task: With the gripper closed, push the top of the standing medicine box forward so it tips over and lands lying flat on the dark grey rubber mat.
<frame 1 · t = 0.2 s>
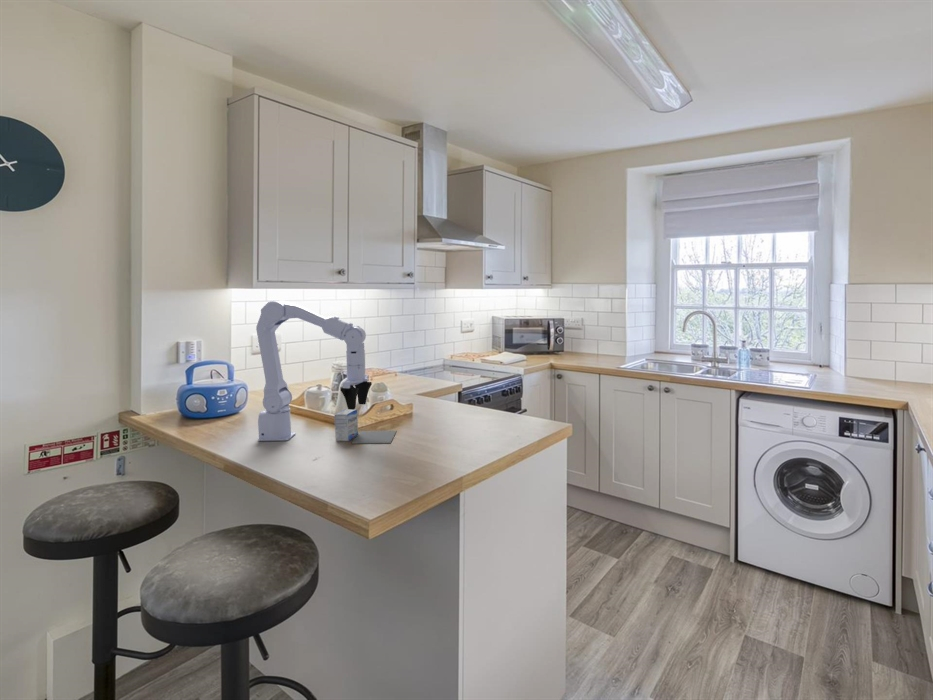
hand: (357, 406, 165), 10 cm above the countertop, fingers open, 7 cm apart
mat: (374, 437, 165), on the countertop
medicine box: (347, 438, 165), on the countertop
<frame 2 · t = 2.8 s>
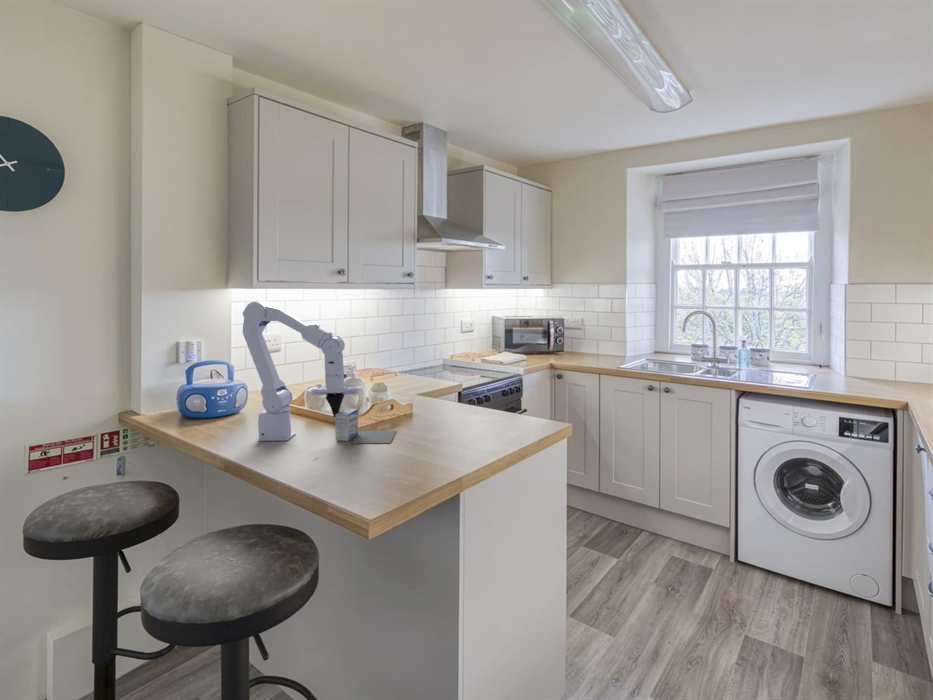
hand: (336, 416, 164), 7 cm above the countertop, fingers closed
medicine box: (347, 438, 165), on the countertop, touching gripper
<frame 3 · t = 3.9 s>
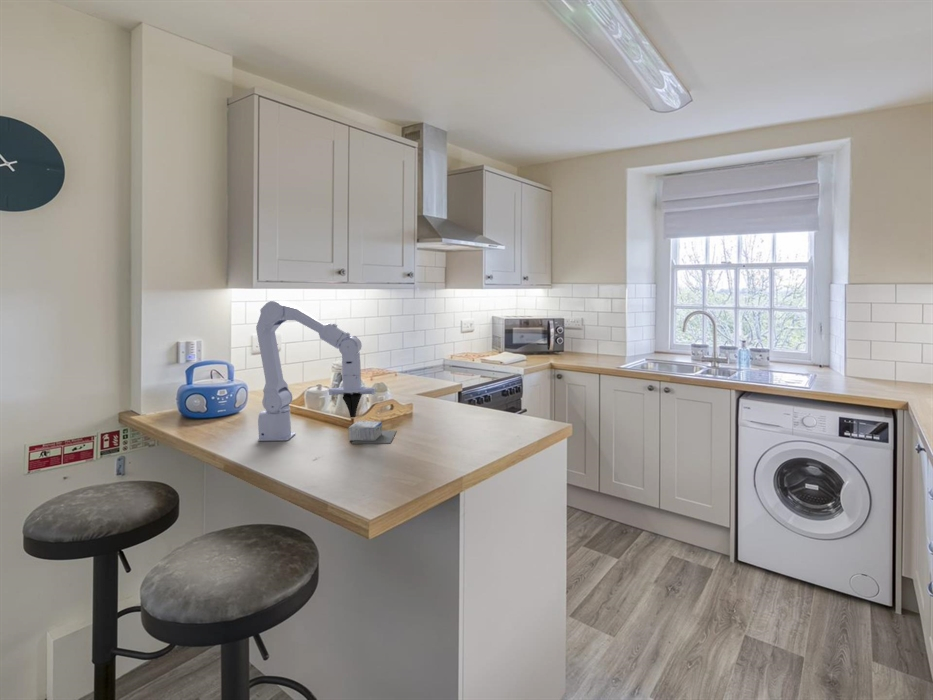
hand: (353, 416, 164), 7 cm above the countertop, fingers closed
medicine box: (352, 430, 165), point 3 cm above the countertop, touching mat
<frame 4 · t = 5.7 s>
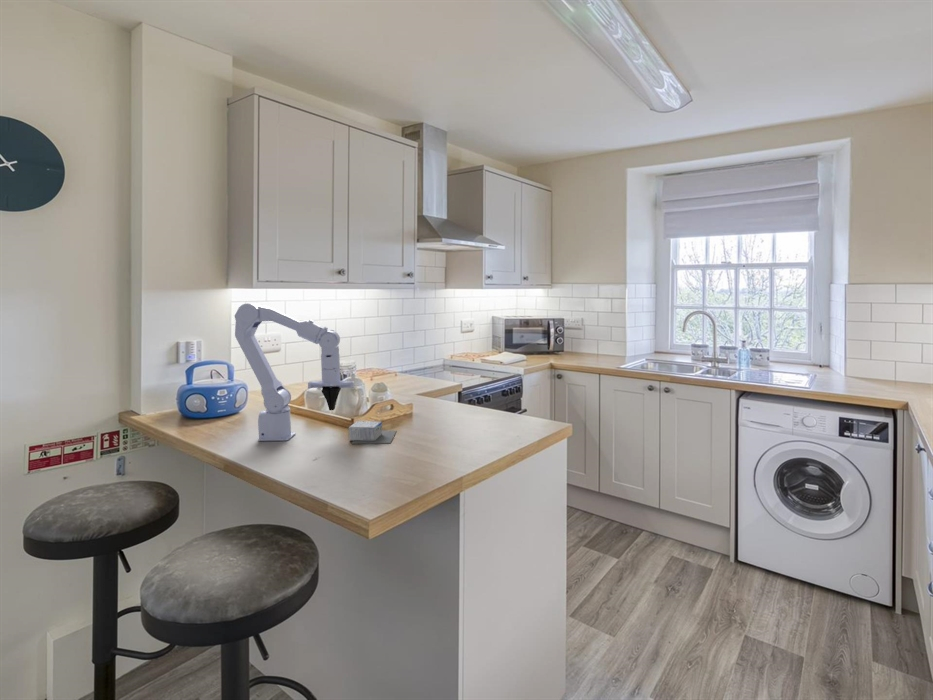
hand: (332, 409, 167), 9 cm above the countertop, fingers closed
nothing on the countertop moved.
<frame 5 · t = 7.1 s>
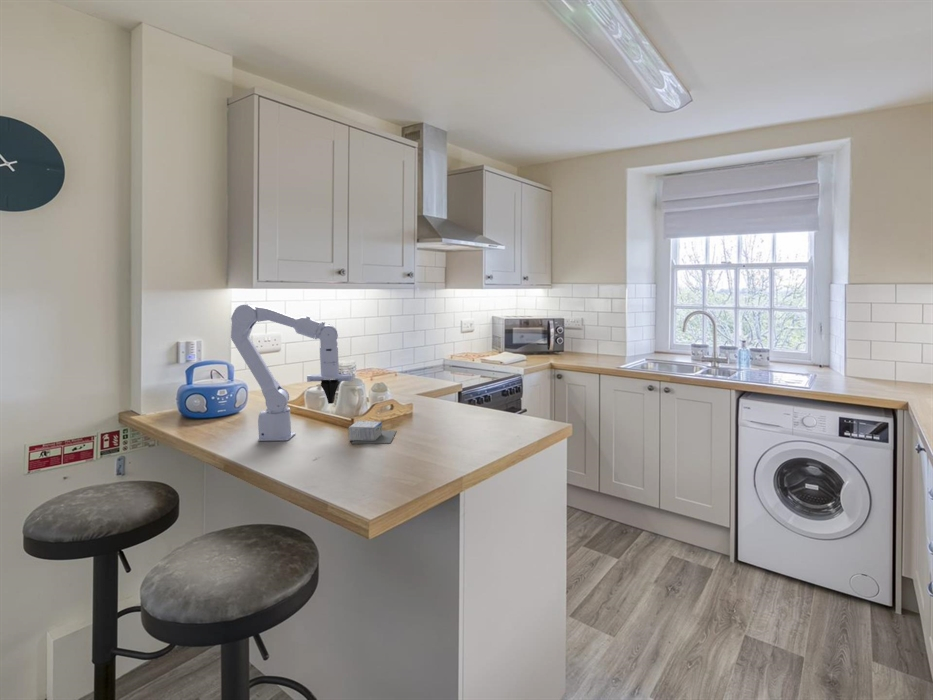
hand: (331, 402, 169), 10 cm above the countertop, fingers closed
nothing on the countertop moved.
at the end: medicine box tilted 90°; medicine box inside the target area (6.7 cm from its centre), point 2.5 cm above the countertop; the gripper is holding nothing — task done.
